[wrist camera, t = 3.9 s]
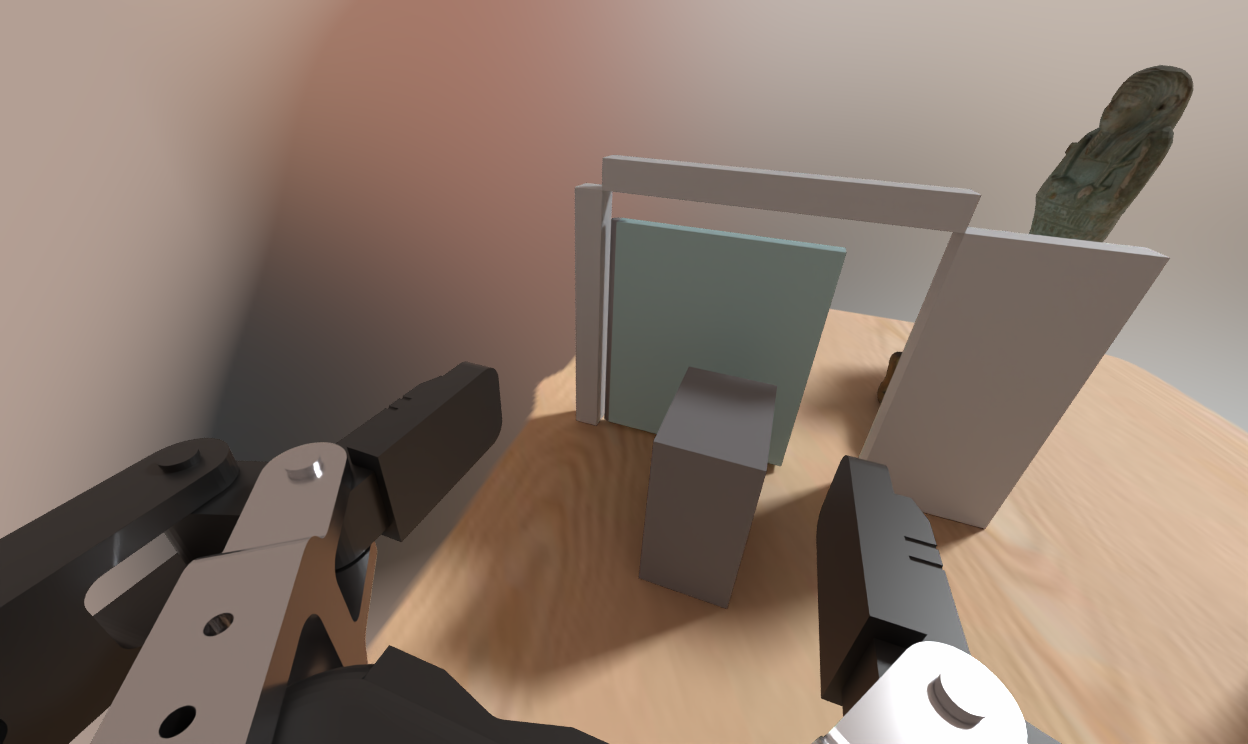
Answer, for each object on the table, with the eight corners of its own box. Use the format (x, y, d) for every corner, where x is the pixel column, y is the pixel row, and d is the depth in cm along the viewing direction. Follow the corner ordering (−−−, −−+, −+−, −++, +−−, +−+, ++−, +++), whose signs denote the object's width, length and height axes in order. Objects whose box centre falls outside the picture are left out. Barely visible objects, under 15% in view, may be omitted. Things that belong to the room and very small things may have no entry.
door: (782, 448, 39) (844, 243, 30) (780, 466, 37) (846, 252, 28) (611, 405, 43) (620, 213, 34) (602, 419, 41) (608, 220, 32)
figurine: (936, 346, 58) (1066, 64, 43) (994, 350, 58) (1145, 69, 43) (979, 384, 51) (1155, 58, 35) (1046, 388, 51) (1252, 64, 35)
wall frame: (977, 508, 35) (1171, 208, 23) (985, 528, 33) (1198, 216, 22) (584, 408, 43) (586, 152, 32) (576, 420, 42) (574, 155, 30)
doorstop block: (743, 511, 34) (777, 385, 28) (727, 609, 27) (766, 471, 21) (671, 490, 35) (688, 366, 29) (638, 578, 28) (653, 441, 23)
